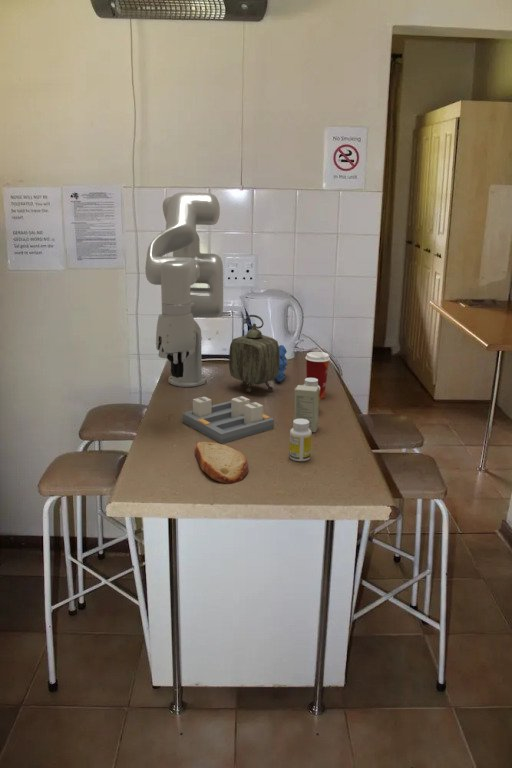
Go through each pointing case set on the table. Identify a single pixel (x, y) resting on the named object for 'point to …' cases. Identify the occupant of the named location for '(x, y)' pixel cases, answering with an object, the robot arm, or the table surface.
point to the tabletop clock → (254, 357)
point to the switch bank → (225, 424)
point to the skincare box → (307, 405)
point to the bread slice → (221, 462)
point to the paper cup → (318, 369)
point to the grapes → (281, 363)
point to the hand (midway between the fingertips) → (177, 376)
